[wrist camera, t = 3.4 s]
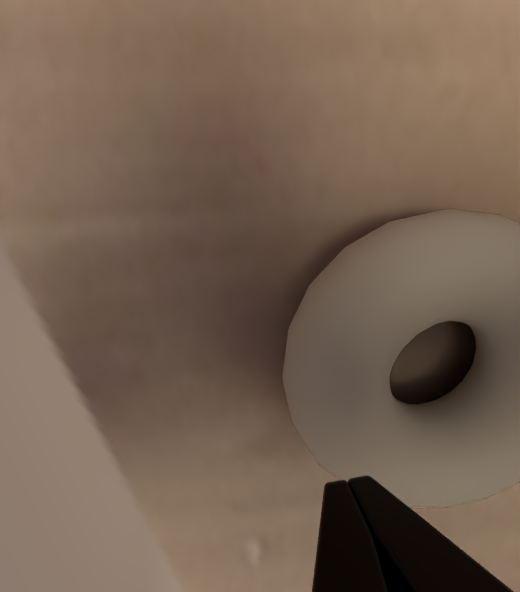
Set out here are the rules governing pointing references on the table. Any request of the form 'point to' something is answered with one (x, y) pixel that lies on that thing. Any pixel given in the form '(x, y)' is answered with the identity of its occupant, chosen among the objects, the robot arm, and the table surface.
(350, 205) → the table surface
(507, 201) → the table surface
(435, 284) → the donut
